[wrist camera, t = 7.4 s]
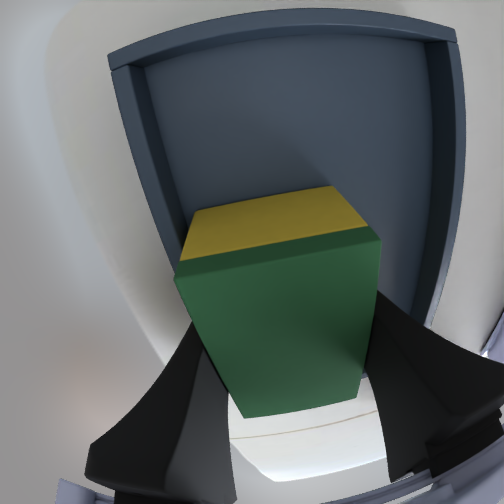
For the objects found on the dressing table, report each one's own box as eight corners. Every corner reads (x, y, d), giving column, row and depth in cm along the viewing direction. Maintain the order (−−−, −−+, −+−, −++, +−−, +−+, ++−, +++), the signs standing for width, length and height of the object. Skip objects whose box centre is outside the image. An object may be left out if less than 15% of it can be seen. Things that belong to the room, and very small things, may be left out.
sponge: (335, 333, 14) (356, 398, 10) (241, 351, 14) (243, 419, 10) (332, 184, 9) (382, 240, 6) (194, 210, 10) (172, 279, 6)
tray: (403, 335, 16) (416, 361, 14) (235, 371, 16) (236, 402, 14) (420, 33, 7) (455, 28, 5) (132, 61, 7) (105, 54, 5)
